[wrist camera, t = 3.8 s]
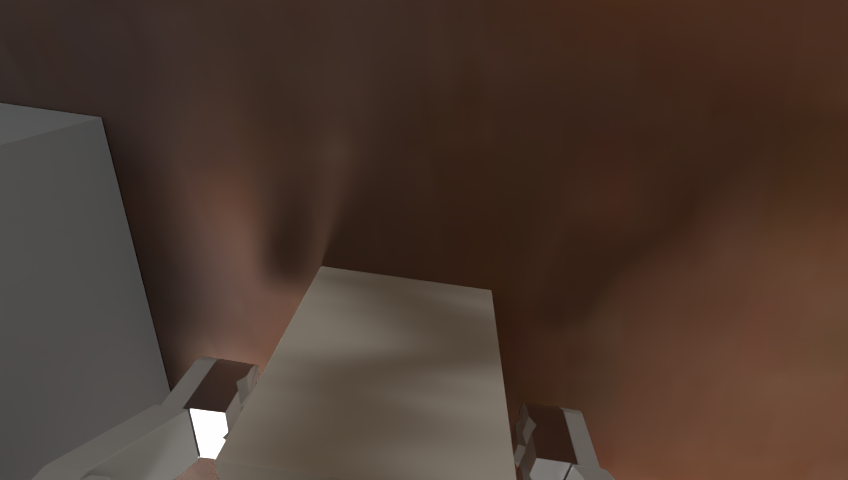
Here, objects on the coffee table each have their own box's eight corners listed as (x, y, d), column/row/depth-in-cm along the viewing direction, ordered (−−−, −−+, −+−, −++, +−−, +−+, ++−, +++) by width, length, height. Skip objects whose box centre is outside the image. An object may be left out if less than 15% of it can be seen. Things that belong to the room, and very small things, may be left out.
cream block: (491, 289, 12) (520, 504, 7) (462, 405, 14) (466, 630, 9) (321, 265, 12) (214, 459, 7) (321, 385, 14) (241, 598, 9)
